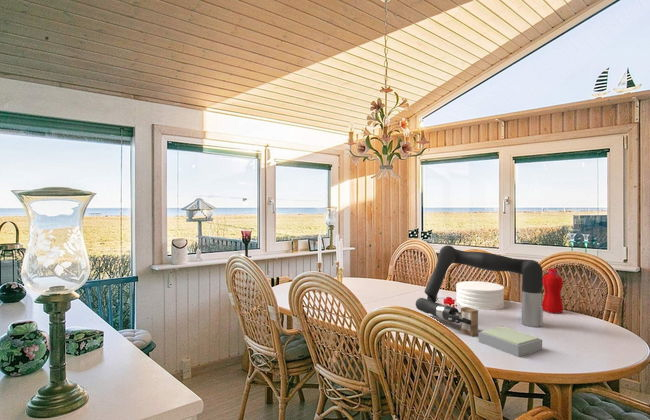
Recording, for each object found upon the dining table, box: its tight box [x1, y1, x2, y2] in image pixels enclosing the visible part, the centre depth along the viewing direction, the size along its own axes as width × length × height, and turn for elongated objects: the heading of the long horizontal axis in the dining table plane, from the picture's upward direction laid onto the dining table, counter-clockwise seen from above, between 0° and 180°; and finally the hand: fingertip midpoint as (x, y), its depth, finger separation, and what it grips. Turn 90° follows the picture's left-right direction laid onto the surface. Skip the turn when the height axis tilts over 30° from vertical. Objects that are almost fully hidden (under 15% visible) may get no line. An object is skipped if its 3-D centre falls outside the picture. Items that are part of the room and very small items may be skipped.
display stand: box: [478, 326, 543, 357], centre depth 173 cm, size 20×16×5 cm
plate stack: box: [455, 280, 505, 310], centre depth 246 cm, size 28×28×12 cm
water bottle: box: [542, 267, 564, 314], centre depth 226 cm, size 9×11×25 cm
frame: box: [460, 306, 479, 337], centre depth 189 cm, size 7×4×12 cm, turn 28°
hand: (473, 321), depth 187 cm, fingers closed on frame, 4 cm apart
